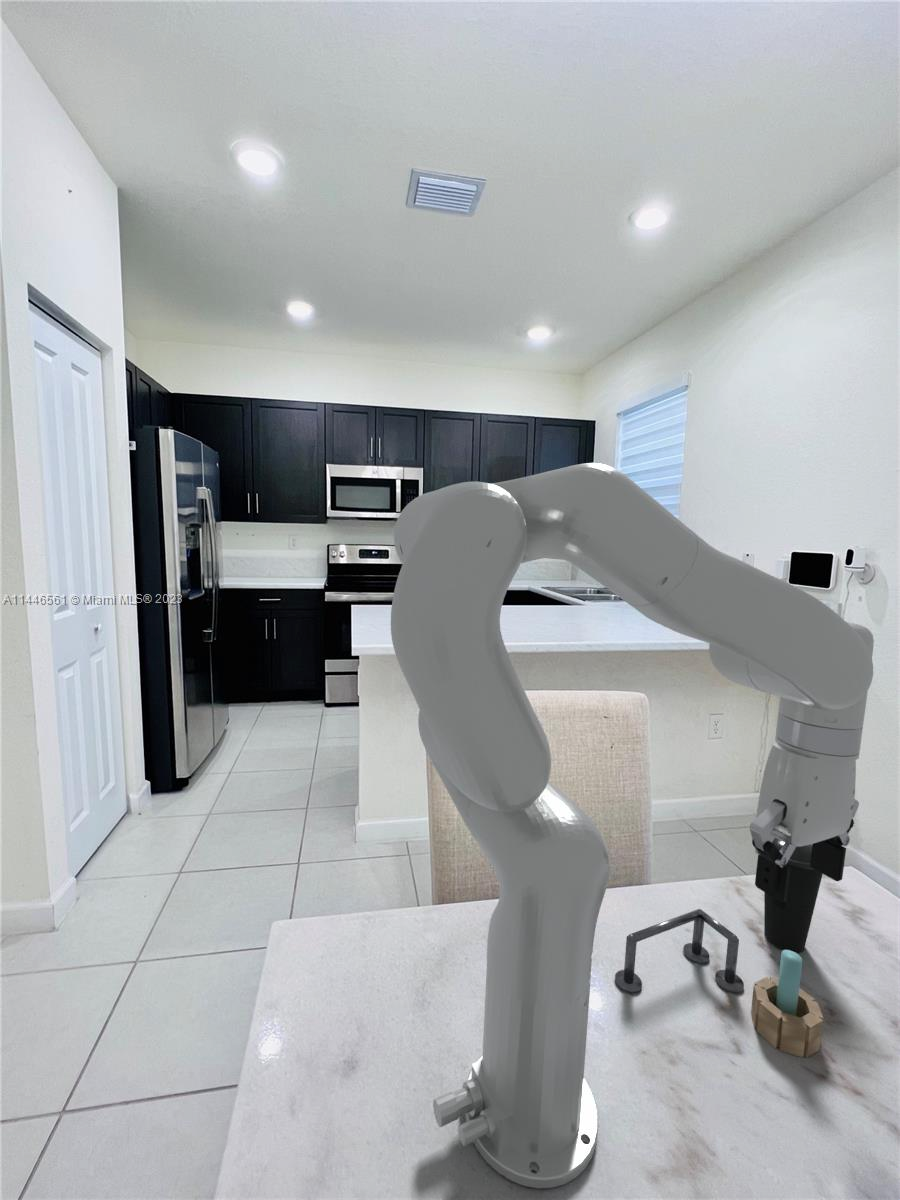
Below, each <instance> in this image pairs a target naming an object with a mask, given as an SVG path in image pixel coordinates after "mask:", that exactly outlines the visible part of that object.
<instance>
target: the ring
mask: <svg viewBox="0 0 900 1200" xmlns="http://www.w3.org/2000/svg"><path fill="white" fill-rule="evenodd" d="M778 980H779V978H775V977H773V976H770V977H768V976H765V977H763V978H762V979H760V980H757V981H756V982H754V984H753V987H752V999H751V1009H750V1015H751V1019H752V1023H753V1027H754V1029H756V1033H758V1034H759V1035H760V1036H761V1037H762V1038H763V1039H765V1040H766V1042H768V1043H769V1044H770V1045H771V1046H773V1047H774V1048H775V1049H776V1048H778V1049H779V1052H782V1053H787V1054H790V1055H793V1056H796V1057H799V1058H804V1057H806V1059H807V1058H809V1057H811V1056H812V1055H814V1054H815V1053H817V1052H818V1051H820V1048H821V1042H822V1041H821V1040H822V1033H823V1032H822V1031H823V1024H824V1016H823V1014H822V1011H821V1008H820V1006H819V1003H818V1002H817V1001H815V998H814V997H813V996H811V995H810V994H809V993H807V992H806V991H805V990H803V989H802V988H801V987H799V995H798V1004H797V1012H796V1016H793V1015H790V1014H786V1013H783V1012H782V1011H781V1010H779V1009H778V1008H777V1007H776V998H777V989H778Z"/></svg>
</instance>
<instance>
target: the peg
mask: <svg viewBox="0 0 900 1200" xmlns="http://www.w3.org/2000/svg"><path fill="white" fill-rule="evenodd" d="M802 967H803V958H802V956H800V954H799V953H795V952H793V951H790V950H781V955H780V965H779V972H778V979H779V980H778V989H777V998H776V1007H777V1008H778V1009H779V1010H781V1011H782V1012H783V1013H786V1014H790V1015H793V1016H796V1012H797V1004H798V995H799V988H801V987H800V985H801V977H802V976H801V975H802V969H803V968H802Z"/></svg>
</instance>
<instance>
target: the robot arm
mask: <svg viewBox="0 0 900 1200" xmlns="http://www.w3.org/2000/svg"><path fill="white" fill-rule="evenodd" d="M393 542H394V543H393V544H394V548H395V552H396V554H397V556H398V559H399V560H400V562H401V564H402V565H401V568H400V571H399V573H398V576H397V579H396V583H395V587H394V591H393V597H392V602H391V603H392V604H391V608H390V609H391V610H390V635H391V641H392V647H393V650H394V653H395V656H396V659H397V662H398V664H399V667H400V669H401V672H402V673H403V676H404V678H405V681H406V683H407V685H408V686H409V689H410V691H411V693H412V695H413V697H414V700H415V701H416V704H417V706H418V709H419V711H418V712H419V713H418V719H417V721H418V733H419V736H420V739H421V740H420V741H422V745H423V747H424V749H425V751H426V753H427V755H428V756H429V759H430V761H431V762H432V763H431V764H432V765H433V767H434V769H435V771H436V772H437V774H438V776H439V778H440V779H441V781H442V783H443V785H444V787H445V790H447V793H448V795H449V797H450V798H451V800H452V802H453V804H454V806H455V808H456V809H457V811H458V813H459V815H460V817H461V818H462V820H463V823H464V824H465V826H466V828H467V830H469V832H470V834H471V835H472V837H473V839H474V840H475V842H476V843H477V845H478V846H479V848H480V849H481V852H483V854H484V855H485V857H486V859H487V861H488V862H489V864H490V865H491V867H492V869H493V871H494V872H495V875H496V877H497V880H498V884H499V898H498V902H497V903H496V906H495V908H494V909H493V912H492V914H491V917H490V919H489V920H490V921H489V924H488V932H487V944H486V975H485V976H486V977H485V997H484V999H485V1000H484V1019H483V1034H482V1035H483V1038H482V1039H483V1040H482V1055H481V1056H480V1057H479V1058H478V1059H477V1060H476V1061H475V1062H472V1064H471V1069H470V1070H469V1074H468V1077H467V1079H466V1080H465V1081H464V1082H463V1083H462V1088H460V1089H458V1090H456V1091H453V1092H452V1091H450V1092H447V1093H446V1094H443V1095H441V1096H439V1097H437V1098H435V1099H433V1102H432V1107H433V1114H434V1118H435V1122H436V1123H437V1125H438V1127H439V1128H443V1127H444V1126H446V1125H448V1124H450V1123H453V1122H454V1121H456V1120H459V1119H460V1117H463V1116H464V1118H465V1122H463V1123H460V1124H459V1125H458V1126H457V1131H458V1132H457V1133H458V1138H459V1141H460V1143H461V1144H462V1146H463V1147H466V1146H467V1145H470V1144H472V1143H473V1144H474V1146H475V1148H476V1150H477V1151H478V1152H479V1154H480V1156H482V1158H483V1159H484V1161H485V1162H486V1163H487V1164H489V1166H491V1168H492V1169H493V1170H495V1171H496V1172H497V1173H498V1174H500V1175H501V1176H503V1177H504V1178H506V1179H508V1180H510V1181H512V1182H514V1183H516V1184H518V1185H521V1186H524V1187H529V1188H533V1189H553V1188H557V1187H559V1186H560V1187H561V1186H563V1185H566V1184H568V1183H570V1182H572V1181H573V1180H574V1179H576V1178H577V1177H578V1176H580V1174H581V1173H583V1171H585V1169H586V1168H587V1166H588V1165H589V1163H590V1161H591V1160H592V1158H593V1156H594V1153H595V1150H596V1146H597V1140H598V1131H599V1114H598V1109H597V1103H596V1101H595V1098H594V1095H593V1092H592V1090H591V1089H590V1087H589V1085H588V1083H587V1081H586V1079H585V1068H586V1067H585V1063H586V1050H587V1049H586V1048H587V1039H588V1038H587V1037H588V1036H587V1035H588V1022H589V1009H590V1007H589V1005H590V996H591V995H590V993H591V992H590V991H591V978H592V964H593V963H592V962H593V949H594V941H595V935H596V934H595V933H596V927H597V923H598V918H599V914H600V910H601V907H602V903H603V900H604V897H605V895H606V891H607V886H608V884H609V880H610V874H611V873H610V872H611V860H610V854H609V850H608V847H607V844H606V841H605V838H604V837H603V835H602V833H601V831H600V830H599V828H598V827H597V825H596V824H595V823H594V821H593V820H592V819H591V818H590V817H589V815H588V814H587V813H586V812H585V811H584V810H583V809H582V808H581V807H580V806H579V805H578V804H576V803H575V802H574V801H573V800H572V799H571V798H570V797H569V796H567V794H565V793H564V792H563V791H562V790H561V789H559V788H558V787H557V786H556V785H554V784H553V783H552V781H550V776H551V772H552V770H551V768H552V756H551V755H552V754H551V748H550V745H549V741H548V738H547V735H546V733H545V731H544V728H543V726H542V723H541V722H540V720H539V718H538V716H537V713H536V712H535V710H534V708H533V706H532V704H531V702H530V700H529V697H528V696H527V694H526V691H525V688H524V687H523V685H522V682H521V680H520V678H519V677H518V674H517V672H516V670H515V668H514V666H513V663H512V661H511V658H510V655H509V653H508V650H507V648H506V645H505V642H504V639H503V635H502V631H501V610H502V607H503V603H504V599H505V596H506V594H507V591H508V589H509V587H510V585H511V583H512V581H513V578H514V577H515V575H516V573H517V571H518V570H519V568H520V565H521V564H524V563H528V562H532V561H538V560H542V559H549V560H563V561H565V562H568V563H570V564H572V565H574V566H575V567H576V568H577V569H579V570H581V571H583V572H584V573H585V574H587V575H588V576H589V577H591V578H592V579H593V580H595V581H596V582H598V583H599V584H600V585H602V586H603V587H604V588H606V589H607V590H608V591H610V592H612V593H613V594H614V595H616V596H617V597H618V598H620V599H621V600H622V601H623V602H626V603H627V604H628V605H630V606H631V607H632V608H634V609H635V610H637V612H639V613H640V614H642V615H643V616H644V617H646V618H647V619H649V620H650V621H652V622H654V623H657V624H658V625H660V626H662V627H665V628H667V629H669V630H672V631H674V632H676V633H678V634H680V635H683V636H686V637H689V638H692V639H695V640H698V641H701V642H704V643H707V644H709V646H708V655H709V658H710V661H711V663H712V665H713V667H714V668H715V669H716V671H717V672H718V673H720V674H721V676H723V677H724V678H725V679H728V680H730V681H732V682H734V683H736V684H739V685H741V686H744V687H747V688H750V689H754V690H757V691H759V692H761V693H766V694H771V695H774V696H777V697H779V699H778V700H779V702H778V712H777V719H776V727H775V728H776V730H775V736H774V737H775V739H774V741H775V742H774V743H773V744H772V745H771V749H770V751H769V754H768V755H767V760H766V763H765V767H764V771H763V774H762V781H761V783H760V784H761V785H760V790H759V794H758V795H759V796H758V802H757V809H756V816H755V819H754V820H753V821H752V822H750V825H749V831H750V834H751V835H750V836H751V838H752V839H751V842H752V843H751V844H752V846H753V847H754V851H755V854H757V861H756V870H755V871H756V872H755V880H754V881H755V882H754V885H755V886H756V888H757V889H759V890H761V891H762V892H763V893H764V892H765V893H766V894H768V895H770V896H771V897H773V898H774V899H776V900H777V901H779V902H781V903H782V902H785V901H786V900H787V894H788V886H789V877H790V869H791V867H790V866H788V865H786V864H787V862H788V860H789V858H790V857H791V855H792V853H793V852H794V850H795V848H796V847H800V846H806V845H810V844H813V845H812V853H811V861H810V866H811V867H812V868H813V869H815V870H817V871H818V872H820V873H822V874H823V875H824V876H826V877H828V878H830V879H831V880H834V882H835V881H836V882H840V881H842V880H843V876H844V875H843V874H844V867H845V861H846V852H847V848H846V847H847V846H849V844H850V842H851V841H850V840H851V839H850V838H851V837H850V835H849V833H850V832H851V829H852V828H853V827H854V825H855V821H854V818H855V815H856V814H857V811H858V808H859V806H860V802H859V801H858V800H857V799H855V794H856V779H857V778H856V777H857V775H856V774H857V760H858V759H860V754H861V753H860V751H861V745H862V744H861V743H862V737H863V736H862V735H863V727H864V721H865V715H866V707H867V700H868V692H869V689H870V687H871V685H872V682H873V677H874V663H873V654H874V653H873V652H874V646H875V645H874V643H875V640H874V635H873V633H872V632H871V630H870V629H868V628H867V627H866V626H864V625H862V624H857V623H853V622H847V621H846V620H845V619H843V618H842V617H841V616H840V614H838V613H836V612H835V611H834V610H833V609H832V608H831V607H829V606H828V605H827V604H825V603H824V602H822V601H821V600H819V599H818V598H817V597H814V596H813V595H811V594H809V593H808V592H806V591H804V590H803V589H801V588H800V587H799V588H798V587H797V586H795V585H793V584H791V583H789V582H786V581H784V580H783V579H780V578H777V577H775V576H774V575H771V574H770V573H767V572H765V571H763V570H761V569H759V568H757V567H754V566H752V565H750V564H749V563H747V562H745V561H744V560H743V561H742V560H740V559H739V558H736V557H734V556H731V555H729V554H727V553H724V552H722V551H719V550H718V549H716V548H715V547H713V546H712V545H710V544H709V543H708V542H706V541H705V540H704V539H703V538H701V536H699V535H698V534H697V533H696V532H694V531H693V530H692V529H691V528H689V526H687V525H685V523H683V522H682V521H681V520H680V519H678V517H676V516H675V515H674V514H673V513H671V512H670V511H669V510H668V509H666V507H664V506H663V505H662V504H661V503H660V502H659V501H657V500H656V499H655V498H653V496H652V495H650V494H649V493H647V492H646V491H645V489H642V487H641V486H639V485H638V484H637V483H635V482H634V481H633V480H632V479H630V477H628V476H627V475H626V474H624V473H622V472H621V471H619V470H618V469H617V468H615V467H613V466H609V465H608V464H604V463H603V464H602V463H599V462H597V463H596V462H587V463H579V464H574V465H569V466H565V467H561V468H558V469H553V470H549V471H544V472H541V473H536V474H533V475H528V476H524V477H520V478H515V479H509V480H504V481H500V482H493V483H488V482H483V481H465V482H460V483H459V482H458V483H455V484H451V485H448V486H444V487H441V488H439V489H436V490H433V491H429V492H426V493H422V494H420V495H419V496H417V497H415V498H414V499H412V500H411V501H410V502H409V503H407V504H406V506H404V508H403V509H402V511H401V513H399V515H398V517H397V520H396V523H395V526H394V531H393ZM780 828H781V830H785V831H786V832H788V834H790V835H789V836H788V834H786V833H784V832H782V831H780V830H779V829H780ZM774 838H777V839H779V840H781V841H783V842H785V843H784V845H783V846H782V848H781V850H780V851H778V849H777V848H776V846H775V845H774V844H773V843H772V842H773V840H774Z"/></svg>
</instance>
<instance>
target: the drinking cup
mask: <svg viewBox="0 0 900 1200" xmlns="http://www.w3.org/2000/svg"><path fill="white" fill-rule="evenodd" d="M787 835H788V834H787ZM788 836H790V835H788ZM772 843H773V844H774V845H775V846H776V848H777V849H778V851H780V850H781V848H782V846H783V845H784V843H785V842H783V841H781V840H779V839H777V838H774V840H773V842H772ZM812 845H813V844H810V845H806V846H800V847H796V848H795V850H794V852H793V853H792V855H791V857H790V858H789V860H788V862H787V864H786V865H788V866H790V867H791V869H790V877H789V886H788V894H787V900H786V901H785V902H782V903H781V902H779V901H777V900H776V899H774V898H773V897H771V896H770V895H768V894H766V893H765V892H763V893H764V897H763V898H764V899H763V900H764V905H763V906H764V907H763V908H764V909H763V911H764V917H763V918H764V921H763V922H764V924H763V925H764V930H763V931H764V937H765V939H766V940H767V941H768V942H769V944H771V945H772V946H774V947H775V948H777V949H779V950H781V951H783V950H790V951H793V952H795V953H797V954H800V953H802V952H804V950H805V947H806V945H807V944H806V943H807V939H808V935H809V932H810V927H811V923H812V919H813V914H814V911H815V907H816V902H817V899H818V895H819V890H820V886H821V882H822V877H823V875H824V874H822V873H820V872H818V871H817V870H815V869H813V868H812V867H811V866H810V861H811V853H812Z"/></svg>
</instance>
